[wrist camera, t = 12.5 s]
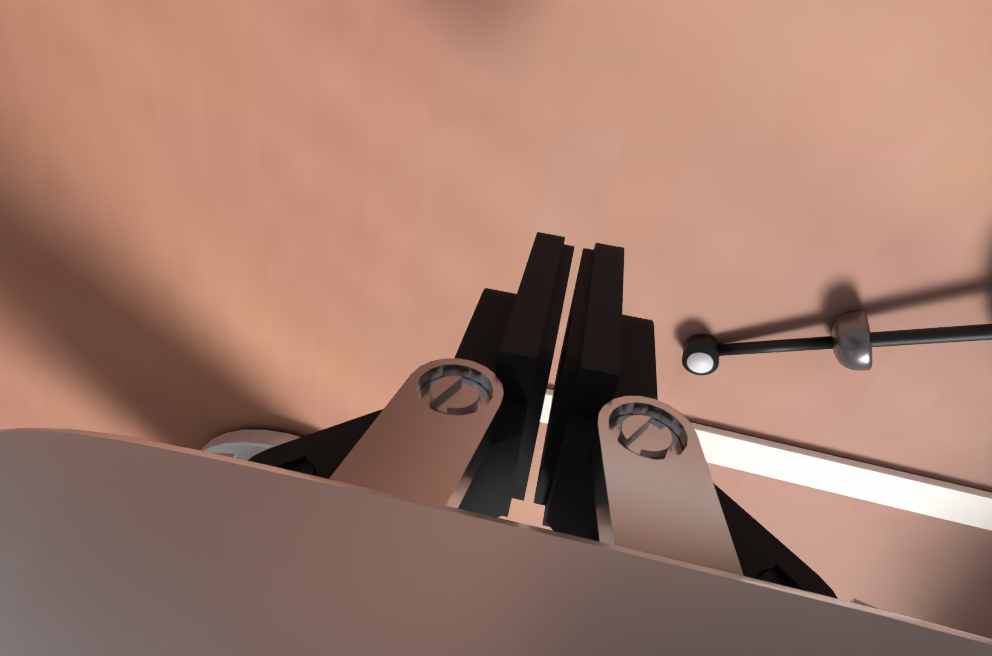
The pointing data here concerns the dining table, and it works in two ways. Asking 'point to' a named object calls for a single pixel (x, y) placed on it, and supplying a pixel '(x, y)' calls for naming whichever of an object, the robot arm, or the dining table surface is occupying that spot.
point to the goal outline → (840, 475)
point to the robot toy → (829, 343)
